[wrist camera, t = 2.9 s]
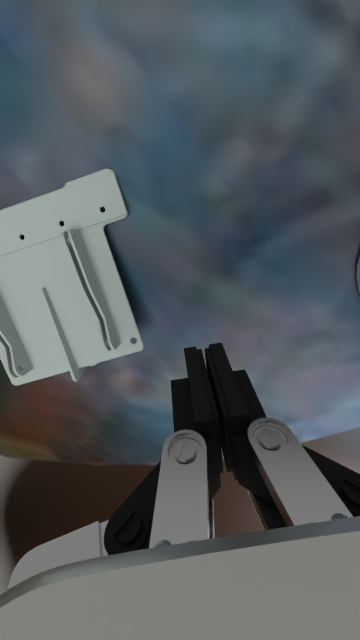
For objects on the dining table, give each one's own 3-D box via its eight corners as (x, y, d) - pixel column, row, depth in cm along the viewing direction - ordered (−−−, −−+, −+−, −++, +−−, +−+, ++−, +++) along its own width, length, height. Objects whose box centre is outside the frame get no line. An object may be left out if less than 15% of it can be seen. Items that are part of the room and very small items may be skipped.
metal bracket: (171, 361, 18) (-22, 414, 20) (175, 337, 24) (25, 380, 25) (97, 138, 15) (-122, 219, 17) (122, 170, 21) (-44, 229, 23)
